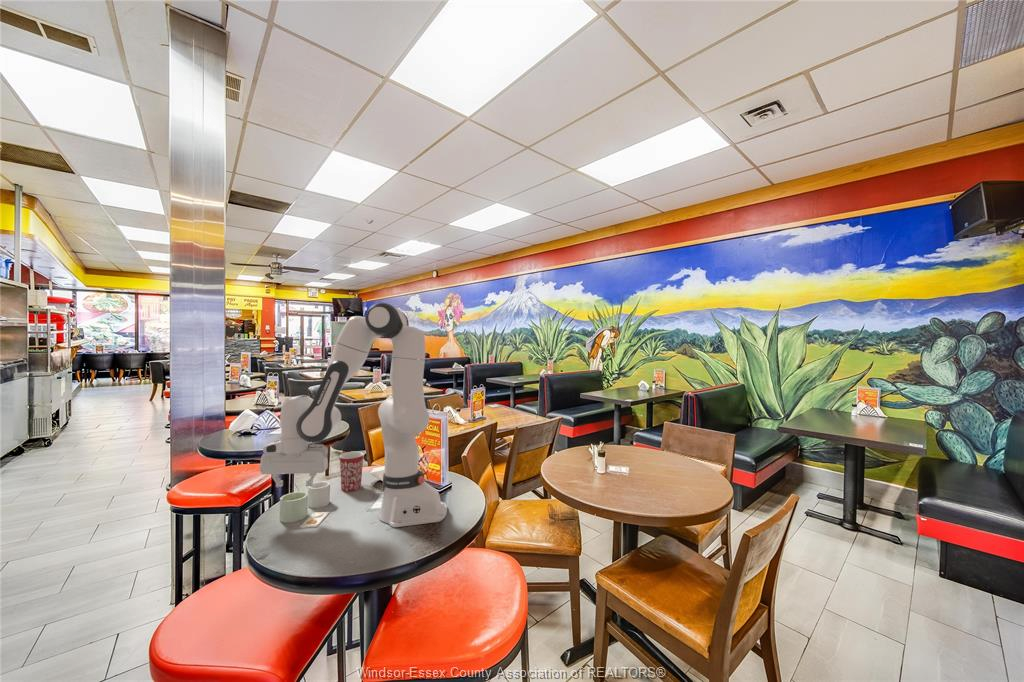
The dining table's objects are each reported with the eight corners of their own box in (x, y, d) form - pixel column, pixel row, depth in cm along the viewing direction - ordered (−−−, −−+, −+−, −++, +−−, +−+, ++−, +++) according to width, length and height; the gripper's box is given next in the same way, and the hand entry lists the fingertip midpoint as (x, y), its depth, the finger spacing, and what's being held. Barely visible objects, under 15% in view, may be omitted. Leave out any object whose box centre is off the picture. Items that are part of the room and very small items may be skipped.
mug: (356, 493, 143) (357, 458, 143) (334, 492, 143) (334, 457, 144) (371, 481, 155) (371, 449, 156) (350, 480, 156) (350, 448, 156)
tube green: (311, 511, 127) (311, 491, 127) (300, 522, 119) (300, 500, 119) (287, 512, 126) (287, 492, 126) (274, 523, 118) (275, 501, 118)
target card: (329, 513, 125) (329, 511, 125) (316, 527, 115) (316, 525, 115) (313, 513, 125) (313, 512, 125) (299, 528, 115) (299, 526, 115)
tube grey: (332, 499, 136) (332, 481, 137) (324, 507, 130) (325, 488, 130) (312, 500, 136) (313, 481, 136) (304, 508, 129) (304, 488, 129)
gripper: (331, 441, 127) (330, 481, 127) (268, 442, 125) (267, 483, 125) (324, 446, 121) (323, 488, 120) (257, 447, 119) (256, 490, 118)
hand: (294, 486), depth 123 cm, fingers open, 8 cm apart
